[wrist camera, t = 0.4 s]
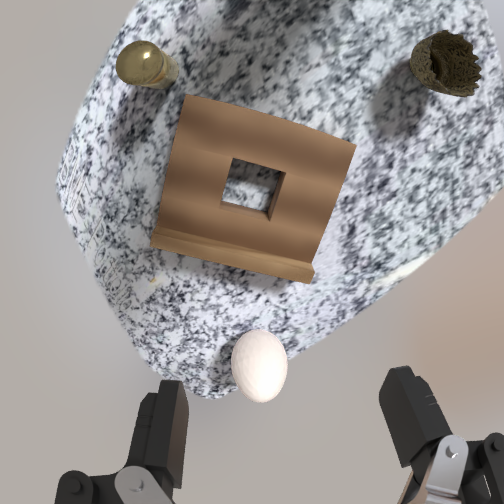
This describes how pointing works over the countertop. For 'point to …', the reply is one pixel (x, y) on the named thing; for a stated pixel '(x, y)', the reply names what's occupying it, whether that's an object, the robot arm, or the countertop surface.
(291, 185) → the jig
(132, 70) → the brass cylinder peg
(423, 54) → the cup
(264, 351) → the egg
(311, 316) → the countertop surface
